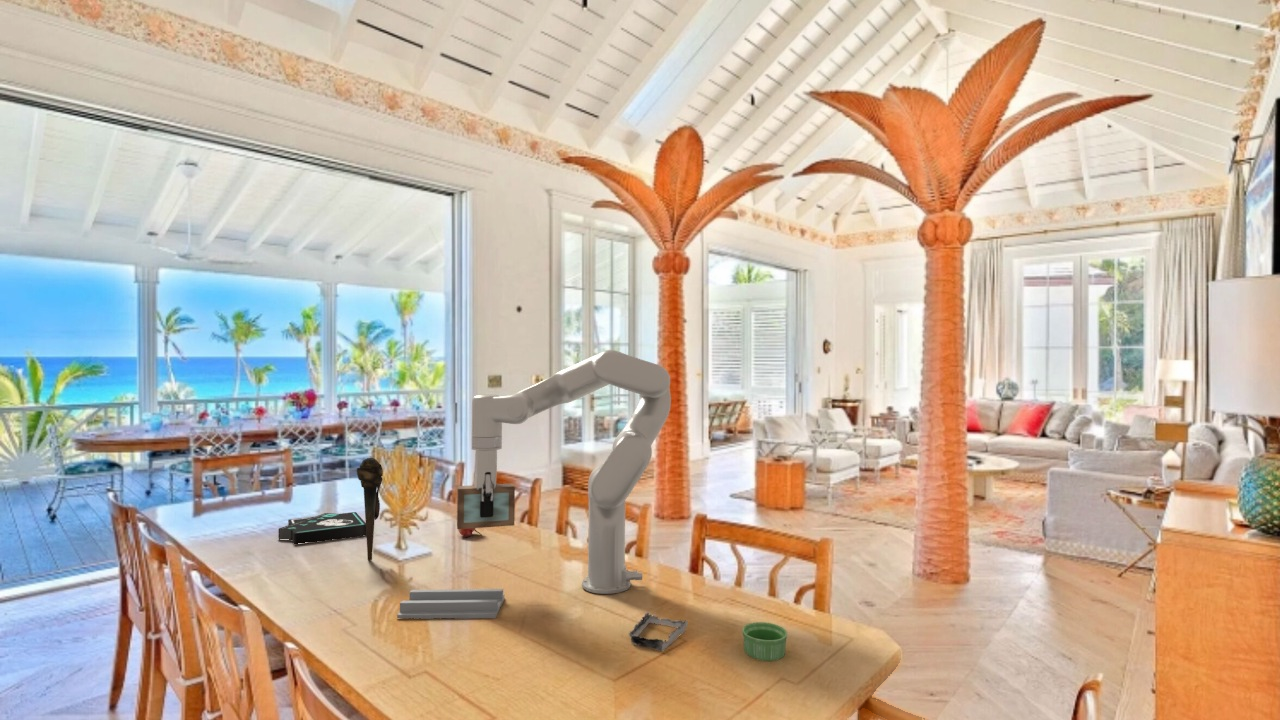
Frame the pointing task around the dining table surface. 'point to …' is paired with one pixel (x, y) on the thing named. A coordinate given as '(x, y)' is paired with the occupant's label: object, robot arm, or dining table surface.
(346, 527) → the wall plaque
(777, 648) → the ramekin
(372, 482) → the decorative torch
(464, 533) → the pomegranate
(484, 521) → the picture frame
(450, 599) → the display stand
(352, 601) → the dining table surface
